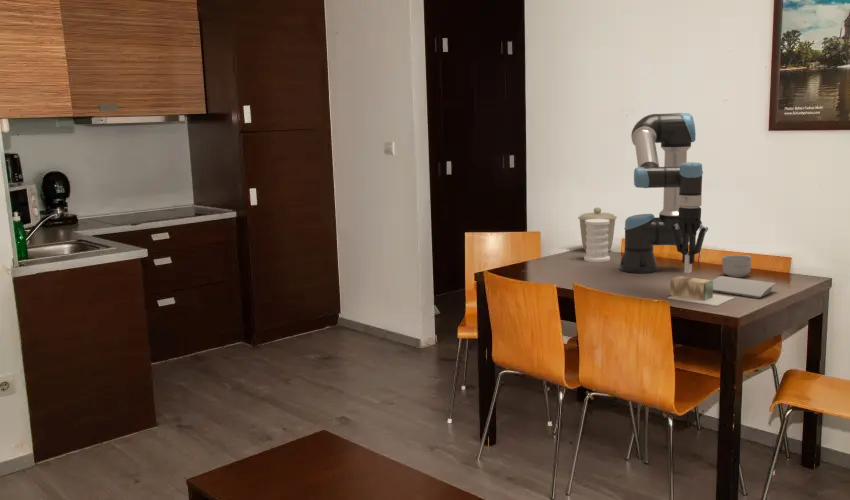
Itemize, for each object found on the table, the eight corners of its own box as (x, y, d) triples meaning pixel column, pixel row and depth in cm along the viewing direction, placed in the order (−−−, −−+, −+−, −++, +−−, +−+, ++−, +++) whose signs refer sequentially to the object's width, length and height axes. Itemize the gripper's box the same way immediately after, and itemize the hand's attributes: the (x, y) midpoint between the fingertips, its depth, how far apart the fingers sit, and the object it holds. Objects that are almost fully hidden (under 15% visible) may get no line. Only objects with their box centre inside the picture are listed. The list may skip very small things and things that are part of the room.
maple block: (670, 278, 269) (705, 283, 260) (678, 275, 273) (713, 280, 264) (670, 294, 270) (705, 300, 261) (678, 291, 274) (712, 297, 265)
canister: (617, 254, 352) (617, 209, 348) (578, 254, 355) (578, 210, 352) (615, 247, 369) (615, 205, 365) (578, 247, 373) (578, 205, 369)
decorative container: (579, 258, 344) (579, 219, 341) (601, 256, 348) (601, 218, 345) (592, 263, 334) (592, 223, 330) (615, 260, 337) (615, 221, 334)
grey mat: (667, 298, 267) (667, 297, 267) (685, 291, 276) (686, 290, 276) (716, 306, 254) (716, 305, 254) (734, 298, 264) (734, 297, 264)
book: (719, 284, 287) (719, 274, 287) (781, 293, 271) (781, 282, 270) (700, 292, 277) (701, 281, 276) (763, 301, 261) (764, 290, 260)
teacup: (735, 280, 292) (736, 260, 290) (715, 275, 302) (715, 255, 300) (762, 276, 297) (763, 256, 295) (741, 271, 307) (742, 252, 305)
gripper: (667, 206, 265) (666, 271, 269) (702, 209, 256) (700, 276, 260) (677, 204, 270) (675, 268, 274) (712, 206, 261) (710, 272, 265)
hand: (688, 272), depth 267 cm, fingers closed
